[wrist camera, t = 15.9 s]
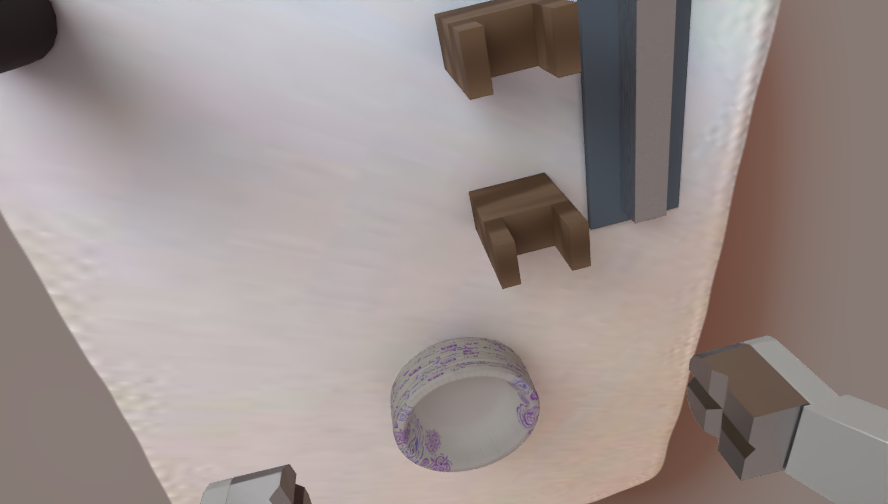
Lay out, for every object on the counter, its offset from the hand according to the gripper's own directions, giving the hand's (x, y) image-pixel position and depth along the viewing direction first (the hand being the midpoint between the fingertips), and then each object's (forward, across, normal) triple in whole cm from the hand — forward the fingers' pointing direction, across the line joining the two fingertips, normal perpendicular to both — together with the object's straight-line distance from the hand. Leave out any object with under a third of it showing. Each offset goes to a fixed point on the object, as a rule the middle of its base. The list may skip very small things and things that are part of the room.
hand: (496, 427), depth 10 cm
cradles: (+34, -8, +6) cm, 35 cm away
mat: (+34, -20, +6) cm, 40 cm away
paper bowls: (+34, +1, +33) cm, 48 cm away
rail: (+34, -20, +6) cm, 39 cm away
